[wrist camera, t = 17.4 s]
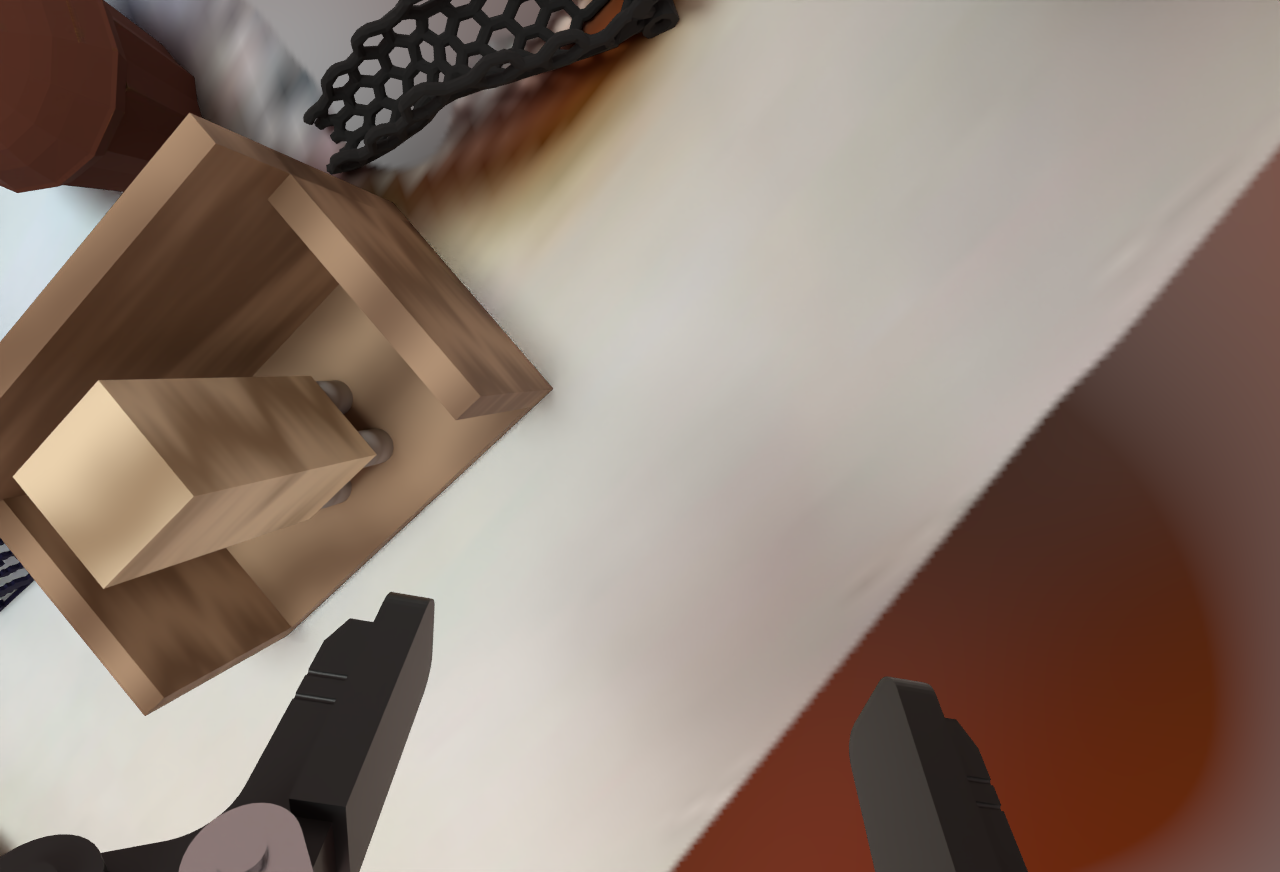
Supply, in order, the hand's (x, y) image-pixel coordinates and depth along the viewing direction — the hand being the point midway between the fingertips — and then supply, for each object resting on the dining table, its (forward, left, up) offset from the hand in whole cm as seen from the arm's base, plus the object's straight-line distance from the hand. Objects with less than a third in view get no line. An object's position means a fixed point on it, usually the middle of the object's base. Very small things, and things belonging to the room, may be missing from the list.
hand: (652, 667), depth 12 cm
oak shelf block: (+6, -21, -22) cm, 31 cm away
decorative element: (-16, -18, -26) cm, 35 cm away
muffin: (-8, -39, -25) cm, 47 cm away
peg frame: (+6, -21, -25) cm, 33 cm away
